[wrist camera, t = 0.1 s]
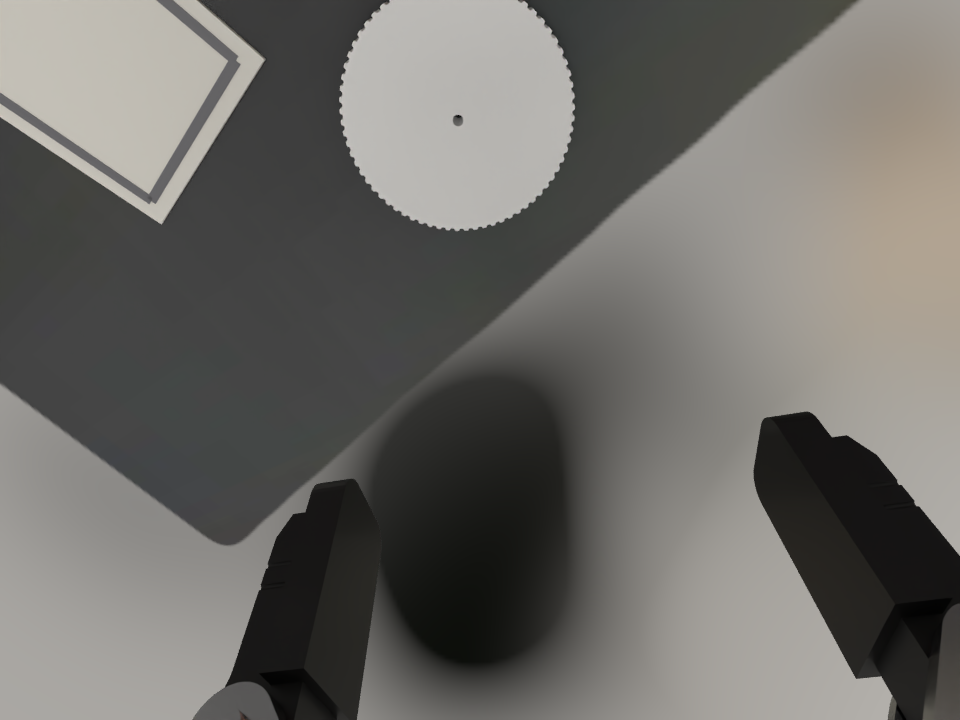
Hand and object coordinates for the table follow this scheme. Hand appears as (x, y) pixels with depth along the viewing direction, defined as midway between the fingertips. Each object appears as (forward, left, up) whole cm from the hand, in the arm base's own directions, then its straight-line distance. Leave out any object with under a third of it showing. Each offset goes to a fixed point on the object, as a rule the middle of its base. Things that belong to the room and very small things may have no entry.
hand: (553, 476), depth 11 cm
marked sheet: (-8, -22, -29) cm, 38 cm away
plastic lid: (-1, -2, -30) cm, 30 cm away
